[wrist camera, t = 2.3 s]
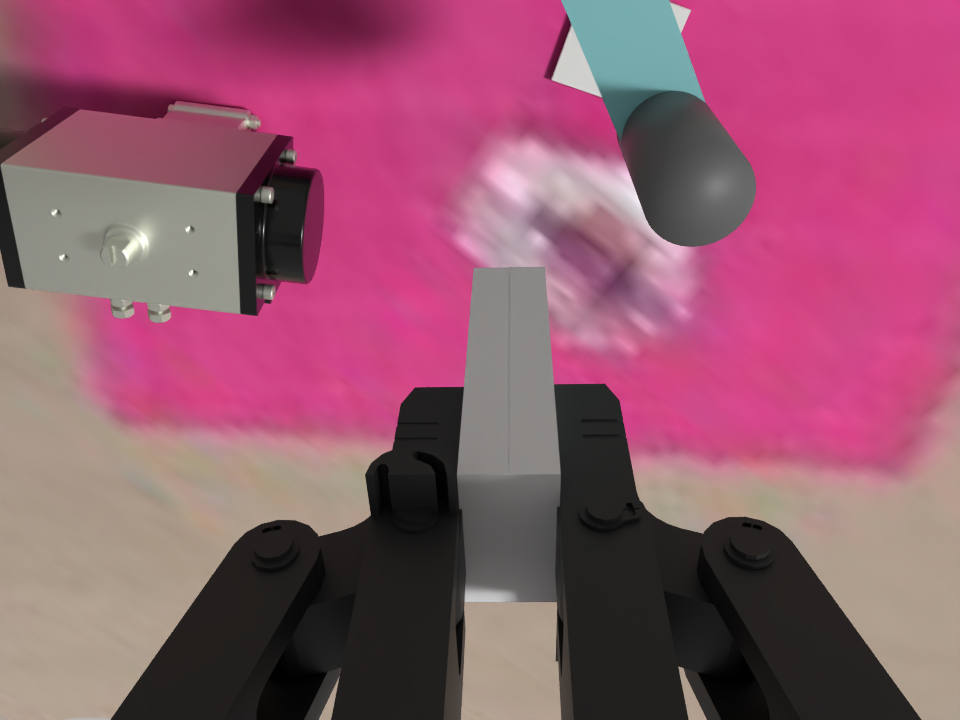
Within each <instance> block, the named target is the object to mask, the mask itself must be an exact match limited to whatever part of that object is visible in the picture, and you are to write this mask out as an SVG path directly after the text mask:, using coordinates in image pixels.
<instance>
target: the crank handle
mask: <svg viewBox="0 0 960 720" xmlns="http://www.w3.org/2000/svg"><path fill="white" fill-rule="evenodd" d="M561 1H562V3H563V6H564V8H565V10H566V13H567V15H568V17H569V20H570V22H571V25H572V27H573V29H574V32H575V34H576V36H577V39H578V41H579V44H580V46H581V48H582V51H583V53H584V56H585V58H586V60H587V63H588V65H589V67H590V70H591V72H592V75H593V77H594V79H595V82H596V84H597V86H598V89H599V91H600V94H601V96H602V98H603V101H604V103H605V105H606V108H607V110H608V113H609V115H610V117H611V120H612V122H613V125H614V127H615V129H616V132H617V139H618V143H619V146H620V149H621V151H622V154H623V157H624V160H625V162H626V165H627V168H628V171H629V173H630V176H631V179H632V181H633V184H634V187H635V190H636V192H637V195H638V198H639V201H640V203H641V206H642V209H643V212H644V214H645V217H646V219H647V221H648V223H649V225H650V226H651V228H652V229H653V230H654V231H655V232H656V233H657V234H658V235H659V236H660V237H662V238H663V239H665V240H666V241H668V242H671V243H673V244H677V245H680V246H688V247H695V246H703V245H707V244H711V243H714V242H716V241H718V240H721V239H723V238H724V237H726V236H727V235H729V234H730V233H732V232H733V231H734V230H735V229H736V228H737V227H738V226H739V225H740V224H741V223H742V222H743V221H744V220H745V218H746V217H747V215H748V213H749V212H750V209H751V207H752V205H753V202H754V198H755V193H756V181H755V175H754V172H753V169H752V167H751V165H750V163H749V162H748V160H747V159H746V157H745V156H744V155H743V153H742V152H741V150H740V149H739V148H738V146H737V145H736V144H735V142H734V141H733V139H732V138H731V137H730V135H729V134H728V133H727V131H726V130H725V129H724V127H723V126H722V124H721V123H720V122H719V120H718V119H717V118H716V116H715V115H714V113H713V112H712V111H711V109H710V108H709V107H708V105H707V104H706V102H705V100H704V97H703V94H702V92H701V89H700V86H699V83H698V80H697V78H696V75H695V72H694V69H693V66H692V63H691V61H690V58H689V55H688V52H687V49H686V46H685V44H684V41H683V38H682V35H681V32H680V30H679V27H678V24H677V21H676V18H675V15H674V13H673V10H672V7H671V4H670V1H669V0H561Z"/></svg>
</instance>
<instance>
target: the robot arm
mask: <svg viewBox="0 0 960 720" xmlns="http://www.w3.org/2000/svg"><path fill="white" fill-rule="evenodd" d="M365 477H366V484H367V491H368V498H369V504H370V511H371V516H370V517H369V518H367V519H366V520H365V521H363V522H361V523H359V524H358V525H356V526H354V527H351V528H348V529H345V530H342V531H339V532H335V533H331V534H327V535H323V536H319V537H318V534H317V533H316V532H315V531H314V530H313V529H312V528H311V527H310V526H309V525H306V524H303V523H301V522H298V521H295V520H276V521H272V522H268V523H264V524H261V525H259V526H257V527H255V528H253V529H252V530H250V531H248V532H246V533H245V534H244V535H243V536H242V537H241V538H240V539H239V540H238V541H237V542H236V543H235V544H234V545H233V547H232V548H231V550H230V551H229V552H228V554H227V555H226V557H225V558H224V559H223V561H222V562H221V564H220V565H219V567H218V568H217V569H216V571H215V572H214V574H213V575H212V577H211V578H210V579H209V581H208V582H207V584H206V585H205V586H204V588H203V589H202V591H201V592H200V594H199V595H198V596H197V598H196V599H195V601H194V602H193V603H192V605H191V606H190V608H189V609H188V611H187V612H186V613H185V615H184V616H183V618H182V619H181V620H180V622H179V623H178V625H177V626H176V628H175V629H174V630H173V632H172V633H171V635H170V636H169V637H168V639H167V640H166V642H165V643H164V645H163V646H162V647H161V649H160V650H159V652H158V653H157V655H156V656H155V657H154V659H153V660H152V662H151V663H150V664H149V666H148V667H147V669H146V670H145V672H144V673H143V674H142V676H141V677H140V679H139V680H138V681H137V683H136V684H135V686H134V687H133V689H132V690H131V691H130V693H129V694H128V696H127V697H126V698H125V700H124V701H123V703H122V704H121V706H120V707H119V708H118V710H117V711H116V713H115V714H114V716H113V717H112V718H111V720H319V718H320V716H321V713H322V711H323V709H324V707H325V705H326V703H327V701H328V699H329V697H330V695H331V692H332V690H333V688H334V686H335V684H336V682H337V680H338V678H339V676H340V678H339V683H338V688H337V693H336V698H335V703H334V708H333V713H332V718H331V720H461V705H462V686H463V666H464V647H465V617H464V601H465V602H557V637H556V661H558V664H559V682H560V701H561V719H562V720H688V715H687V709H686V704H685V699H684V694H683V689H682V684H681V679H680V674H679V668H678V666H679V667H682V668H684V671H685V675H686V677H687V679H688V681H689V683H690V685H691V688H692V690H693V692H694V694H695V696H696V698H697V700H698V702H699V704H700V706H701V708H702V710H703V712H704V714H705V716H706V718H707V720H921V719H920V717H919V716H918V714H917V713H916V712H915V710H914V709H913V708H912V706H911V705H910V703H909V702H908V701H907V699H906V698H905V696H904V695H903V694H902V692H901V691H900V690H899V688H898V687H897V685H896V684H895V683H894V681H893V680H892V679H891V677H890V676H889V674H888V673H887V672H886V670H885V669H884V668H883V666H882V665H881V663H880V662H879V661H878V659H877V658H876V657H875V655H874V654H873V652H872V651H871V650H870V648H869V647H868V646H867V644H866V643H865V641H864V640H863V639H862V637H861V636H860V635H859V633H858V632H857V630H856V629H855V628H854V626H853V625H852V623H851V622H850V621H849V619H848V618H847V617H846V615H845V614H844V612H843V611H842V610H841V608H840V607H839V606H838V604H837V603H836V601H835V600H834V599H833V597H832V596H831V595H830V593H829V592H828V590H827V589H826V588H825V586H824V585H823V584H822V582H821V581H820V579H819V578H818V577H817V575H816V574H815V573H814V571H813V570H812V568H811V567H810V566H809V564H808V563H807V561H806V560H805V559H804V557H803V556H802V555H801V553H800V552H799V550H798V549H797V548H796V546H795V545H794V544H793V542H792V541H791V540H790V539H789V538H788V537H787V536H786V535H785V534H784V533H783V532H782V531H781V530H779V529H778V528H776V527H774V526H772V525H770V524H768V523H766V522H764V521H761V520H757V519H752V518H748V517H728V518H725V519H722V520H719V521H717V522H714V523H713V524H712V525H711V526H710V527H709V528H707V529H706V530H705V531H704V534H702V533H698V532H694V531H690V530H685V529H681V528H678V527H675V526H672V525H669V524H667V523H665V522H663V521H661V520H659V519H657V518H656V517H655V516H653V515H652V514H651V513H650V512H648V511H647V510H646V509H645V507H644V504H643V503H642V502H641V501H640V500H639V497H638V495H637V491H636V486H635V481H634V476H633V470H632V465H631V460H630V454H629V449H628V444H627V438H626V433H625V428H624V423H623V417H622V412H621V407H620V401H619V399H618V398H617V397H616V396H615V395H614V394H613V393H612V391H611V390H610V389H609V388H608V387H607V386H606V385H605V384H554V380H553V367H552V354H551V342H550V329H549V316H548V303H547V290H546V277H545V267H508V268H474V271H473V283H472V296H471V308H470V320H469V333H468V345H467V357H466V369H465V382H464V387H419V388H414V389H413V391H412V392H411V393H410V394H409V395H408V396H407V398H406V399H405V400H404V401H403V402H402V403H401V407H400V412H399V417H398V426H397V428H396V433H395V442H394V444H393V449H392V450H391V451H389V452H386V453H384V454H382V455H381V456H380V457H378V458H377V459H376V460H375V461H373V462H372V463H371V465H370V466H369V468H368V470H367V472H366V474H365ZM340 672H341V673H340Z"/></svg>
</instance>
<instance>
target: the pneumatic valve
mask: <svg viewBox="0 0 960 720" xmlns="http://www.w3.org/2000/svg"><path fill="white" fill-rule="evenodd" d="M260 126H261V120H260V119H259V118H258V116H255V115H252V114H251V112H250V110H245V109H237V108H230V107H222V106H214V105H207V104H199V103H191V102H184V101H176V102H175V104H174V105H171V104H170V105H169V107H168V113H167V114H166V115H165V116H164V118H156V119H152V118H144V117H136V116H129V115H121V114H113V113H105V112H98V111H90V110H82V109H74V108H67V107H64V108H63V109H61V110H60V111H58V112H56V113H55V114H53V115H52V116H50V117H49V118H44V119H43V120H42V122H41V123H40V124H38V125H37V126H35V127H34V128H32V129H31V130H29V131H28V132H24V131H16V130H9V129H0V250H1V255H2V260H3V264H4V269H5V274H6V278H7V283H8V286H9V287H16V288H24V289H33V290H41V291H50V292H58V293H67V294H75V295H84V296H92V297H101V298H109V299H110V301H111V310H112V314H113V316H114V317H116V318H128V317H131V316H132V315H133V314H134V307H133V304H132V302H133V301H135V302H143V303H147V306H148V316H149V319H150V320H151V321H152V322H156V323H162V322H166V321H168V320H169V319H170V317H171V312H170V309H169V306H177V307H185V308H194V309H202V310H211V311H219V312H228V313H236V314H245V315H253V316H258V314H259V312H260V310H261V308H262V306H263V304H264V303H268V304H271V302H272V300H273V299H274V297H275V293H276V291H277V289H278V287H279V285H280V283H281V281H282V282H291V283H299V284H308V283H310V281H311V280H312V278H313V276H314V273H315V270H316V266H317V262H318V258H319V252H320V246H321V239H322V230H323V218H324V186H323V178H322V175H321V172H320V171H319V170H318V169H315V168H307V167H298V166H293V165H295V164H296V161H297V151H296V150H293V137H291V136H283V135H276V134H268V133H260V132H252V131H250V130H251V129H253V130H257V129H258V127H260Z"/></svg>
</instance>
